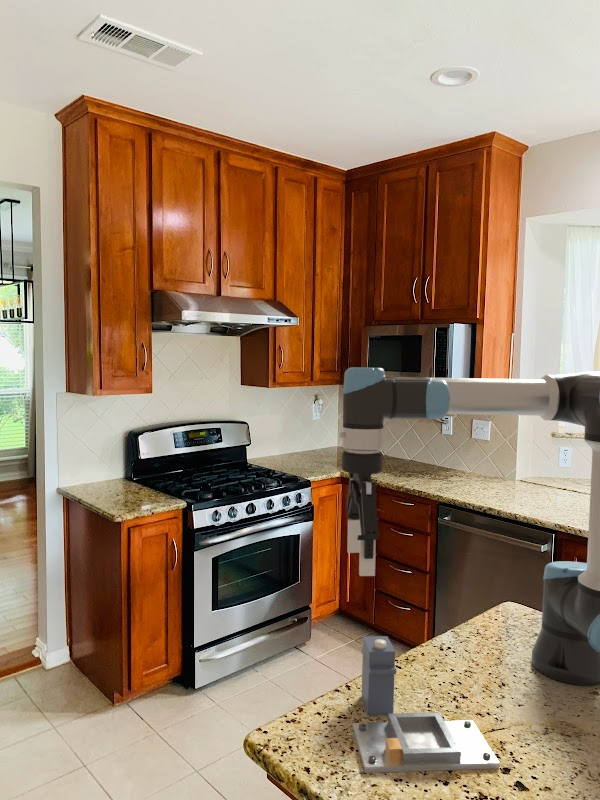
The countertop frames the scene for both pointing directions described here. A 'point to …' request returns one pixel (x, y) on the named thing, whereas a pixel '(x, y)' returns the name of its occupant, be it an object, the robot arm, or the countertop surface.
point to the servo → (378, 675)
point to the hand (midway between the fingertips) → (360, 563)
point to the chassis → (422, 744)
